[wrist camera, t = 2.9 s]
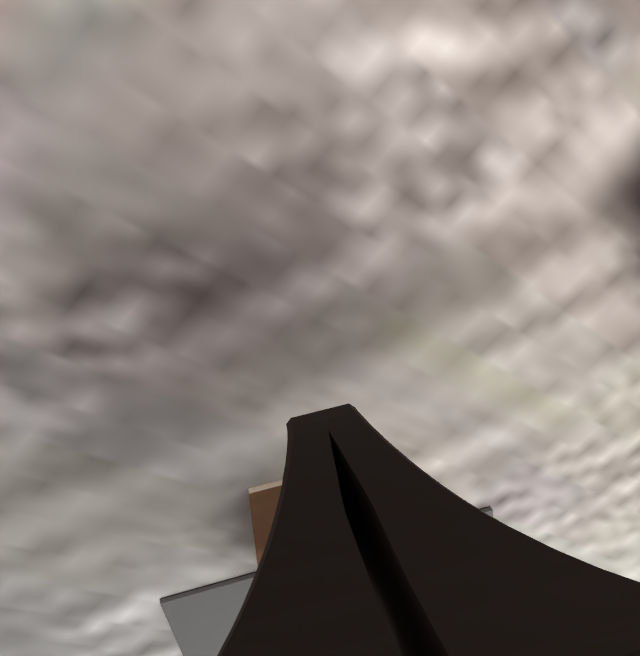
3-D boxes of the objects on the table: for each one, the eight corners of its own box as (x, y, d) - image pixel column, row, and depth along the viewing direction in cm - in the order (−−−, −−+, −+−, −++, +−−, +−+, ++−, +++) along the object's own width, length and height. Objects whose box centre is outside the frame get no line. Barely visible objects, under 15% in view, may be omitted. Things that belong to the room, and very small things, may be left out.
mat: (225, 747, 27) (225, 751, 27) (160, 599, 22) (160, 603, 22) (494, 663, 29) (495, 666, 28) (490, 506, 24) (492, 510, 23)
